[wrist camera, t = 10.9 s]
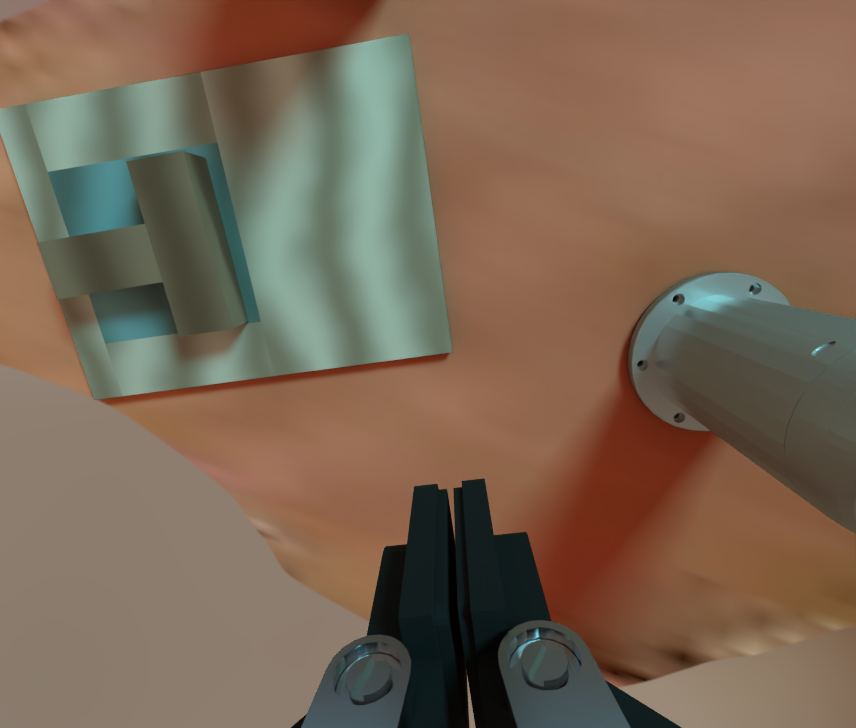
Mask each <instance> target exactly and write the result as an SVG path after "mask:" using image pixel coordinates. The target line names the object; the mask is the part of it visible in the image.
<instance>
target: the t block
mask: <svg viewBox="0 0 856 728" xmlns="http://www.w3.org/2000/svg"><path fill="white" fill-rule="evenodd" d="M126 163H127V166H128V170H129V173H130V176H131V180H132V183H133V186H134V189H135V193H136V196H137V199H138V203H139V206H140V209H141V212H142V216H143V219H144V222H145V224H140V225H135V226H129V227H123V228H118V229H112V230H106V231H100V232H95V233H89V234H83V235H78V236H72V237H66V238H61V239H55V240H49V241H44V242H38V243H37V244H38V247H39V250H40V253H41V255H42V258H43V261H44V264H45V266H46V269H47V272H48V274H49V277H50V280H51V283H52V285H53V288H54V291H55V294H56V296H57V299H63V298H69V297H75V296H82V295H88V294H94V293H100V292H106V291H112V290H118V289H124V288H130V287H136V286H142V285H148V284H154V283H160V282H163V285H164V288H165V291H166V295H167V298H168V301H169V304H170V308H171V311H172V314H173V318H174V321H175V324H176V327H177V331H178V334H179V337H182V336H189V335H195V334H201V333H208V332H214V331H221V330H227V329H232V328H235V327H237V326H239V325H242V324H244V323H246V322H249V321H248V317H247V313H246V309H245V305H244V302H243V298H242V294H241V290H240V286H239V283H238V279H237V275H236V271H235V267H234V263H233V260H232V256H231V252H230V248H229V244H228V241H227V237H226V233H225V229H224V225H223V222H222V218H221V214H220V210H219V206H218V203H217V199H216V195H215V191H214V187H213V183H212V180H211V176H210V172H209V168H208V164H207V161H206V158H204V157H201V156H198V155H195V154H192V153H189V152H186V151H179V152H174V153H168V154H163V155H158V156H152V157H147V158H142V159H136V160H131V161H126Z"/></svg>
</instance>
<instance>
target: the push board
mask: <svg viewBox="0 0 856 728" xmlns="http://www.w3.org/2000/svg"><path fill="white" fill-rule="evenodd" d="M0 134H1V137H2V140H3V142H4V145H5V148H6V151H7V154H8V157H9V159H10V162H11V165H12V168H13V171H14V174H15V176H16V179H17V182H18V185H19V188H20V191H21V193H22V196H23V199H24V202H25V205H26V208H27V210H28V213H29V216H30V219H31V222H32V225H33V227H34V230H35V233H36V236H37V239H38V242H44V241H49V240H55V239H61V238H66V237H72V236H78V235H83V234H89V233H95V232H100V231H106V230H112V229H118V228H123V227H129V226H135V225H140V224H145V222H144V219H143V216H142V212H141V209H140V206H139V203H138V199H137V196H136V193H135V189H134V186H133V183H132V180H131V176H130V173H129V170H128V166H127V163H126V161H131V160H136V159H142V158H147V157H152V156H158V155H163V154H168V153H174V152H179V151H186V152H189V153H192V154H195V155H198V156H201V157H204V158H206V161H207V164H208V168H209V172H210V176H211V180H212V183H213V187H214V191H215V195H216V199H217V203H218V206H219V210H220V214H221V218H222V222H223V225H224V229H225V233H226V237H227V241H228V244H229V248H230V252H231V256H232V260H233V263H234V267H235V271H236V275H237V279H238V283H239V286H240V290H241V294H242V298H243V302H244V305H245V309H246V313H247V317H248V321H249V322H246V323H244V324H242V325H239V326H237V327H235V328H232V329H227V330H221V331H214V332H208V333H201V334H195V335H189V336H182V337H179V334H178V331H177V327H176V324H175V321H174V318H173V314H172V311H171V308H170V304H169V301H168V298H167V295H166V291H165V288H164V285H163V282H160V283H154V284H148V285H142V286H136V287H130V288H124V289H118V290H112V291H106V292H100V293H94V294H88V295H82V296H75V297H69V298H63V299H59V301H60V304H61V307H62V310H63V313H64V315H65V318H66V321H67V324H68V327H69V330H70V332H71V335H72V338H73V341H74V344H75V347H76V349H77V352H78V355H79V358H80V361H81V364H82V366H83V369H84V372H85V375H86V378H87V381H88V383H89V386H90V389H91V392H92V395H93V398H94V400H98V399H106V398H113V397H121V396H128V395H136V394H143V393H151V392H158V391H166V390H173V389H181V388H188V387H196V386H203V385H211V384H218V383H226V382H233V381H241V380H248V379H256V378H263V377H271V376H278V375H286V374H293V373H301V372H308V371H316V370H323V369H331V368H338V367H346V366H353V365H361V364H368V363H376V362H383V361H391V360H398V359H406V358H413V357H421V356H428V355H436V354H443V353H451V352H452V346H451V338H450V331H449V324H448V316H447V309H446V302H445V294H444V287H443V280H442V272H441V265H440V258H439V250H438V243H437V236H436V228H435V221H434V214H433V206H432V199H431V192H430V184H429V177H428V170H427V162H426V155H425V148H424V140H423V133H422V126H421V118H420V111H419V104H418V97H417V89H416V82H415V75H414V67H413V60H412V53H411V45H410V38H409V34H404V35H399V36H394V37H388V38H383V39H377V40H372V41H366V42H361V43H355V44H350V45H345V46H339V47H334V48H328V49H323V50H317V51H312V52H307V53H301V54H296V55H290V56H285V57H279V58H274V59H268V60H263V61H258V62H252V63H247V64H241V65H236V66H230V67H225V68H220V69H214V70H209V71H203V72H198V73H192V74H187V75H181V76H176V77H171V78H165V79H160V80H154V81H149V82H143V83H138V84H133V85H127V86H122V87H116V88H111V89H105V90H100V91H94V92H89V93H84V94H78V95H73V96H67V97H62V98H56V99H51V100H45V101H40V102H35V103H29V104H24V105H18V106H13V107H7V108H2V109H0Z"/></svg>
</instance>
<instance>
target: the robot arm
mask: <svg viewBox="0 0 856 728" xmlns="http://www.w3.org/2000/svg"><path fill="white" fill-rule="evenodd" d="M750 287H751V288H750ZM749 288H750V290H749ZM674 296H676V299H675V300H674V301H673V297H674ZM639 361H641V363H640V365H637V363H638V362H639ZM628 370H629V375H630V380H631V383H632V385H633V388H634V390H635V392H636V394H637V396H638V397H639V398H640V400H641V401H642V403H643V404H644V405H645V406H646V407H647V408H648V409H649V410H650V411H651V412H652V413H654V414H655V415H656V416H658V417H659V418H660V419H662V420H663V421H665V422H667V423H669V424H671V425H673V426H675V427H679V428H683V429H687V430H691V431H712V432H713V433H714V434H716V435H717V436H718V437H720V438H721V439H722V440H724V441H725V442H727V443H728V444H729V445H731V446H732V447H733V448H735V449H736V450H737V451H739V452H740V453H742V454H743V455H744V456H746V457H747V458H748V459H750V460H751V461H752V462H754V463H755V464H757V465H758V466H759V467H761V468H762V469H763V470H765V471H766V472H767V473H769V474H770V475H772V476H773V477H774V478H776V479H777V480H778V481H780V482H781V483H782V484H784V485H785V486H787V487H788V488H789V489H791V490H792V491H793V492H795V493H796V494H797V495H799V496H800V497H802V498H803V499H804V500H806V501H807V502H808V503H810V504H811V505H812V506H814V507H815V508H817V509H818V510H819V511H821V512H822V513H823V514H825V515H826V516H828V517H829V518H830V519H832V520H833V521H835V522H837V523H838V524H840V525H841V526H843V527H845V528H846V529H848V530H850V531H852V532H854V533H856V319H852V318H847V317H842V316H837V315H832V314H827V313H822V312H817V311H812V310H807V309H802V308H798V307H793V306H791V305H790V303H789V301H788V300H787V298H786V297H785V296H784V295H783V294H782V293H781V292H780V291H779V290H778V289H777V288H775V287H774V286H772V285H770V284H769V283H767V282H766V281H764V280H762V279H759V278H756V277H753V276H751V275H746V274H740V273H733V272H714V273H707V274H701V275H698V276H695V277H692V278H689V279H686V280H684V281H682V282H680V283H678V284H676V285H675V286H673V287H671V288H670V289H668V290H667V291H666V292H664V293H663V294H662V295H660V296H659V297H658V298H657V299H656V300H655V301H654V302H653V303H652V304H651V305H650V306H649V308H648V309H647V310H646V311H645V313H644V314H643V316H642V317H641V319H640V320H639V322H638V323H637V326H636V328H635V331H634V333H633V335H632V338H631V342H630V347H629V351H628ZM454 514H455V539H454V532H453V525H452V519H451V512H450V506H449V499H448V493H447V489H442V490H439V489H438V485H437V484H432V485H423V486H415V487H414V492H413V501H412V509H411V517H410V525H409V533H408V541H407V544H405V545H395V546H386V547H385V548H384V551H383V555H382V561H381V566H380V571H379V576H378V581H377V586H376V591H375V596H374V601H373V606H372V612H371V617H370V622H369V627H368V633H367V636H365V637H362V638H360V639H357V640H354V641H353V642H351V643H350V644H348V645H346V646H345V647H343V648H342V649H341V650H340V651H339V652H338V653H337V654H336V655H335V656H334V657H333V659H332V661H331V662H330V664H329V665H328V667H327V669H326V671H325V673H324V676H323V678H322V680H321V683H320V685H319V688H318V690H317V692H316V694H315V696H314V699H313V701H312V704H311V706H310V708H309V711H308V713H307V714H306V715H305V716H304V717H303V718H302V719H300V720H299V721H298V722H297V723H296V724H295V725H294V726H292V727H291V728H469V714H468V695H467V694H468V692H467V675H468V681H469V687H470V694H471V701H472V707H473V713H474V720H475V726H476V728H681V727H680V726H678V725H676V724H675V723H673V722H671V721H670V720H668V719H667V718H665V717H664V716H662V715H660V714H659V713H657V712H655V711H654V710H652V709H651V708H649V707H647V706H646V705H644V704H642V703H641V702H639V701H638V700H636V699H635V698H633V697H631V696H630V695H628V694H627V693H625V692H623V691H622V690H620V689H619V688H617V687H615V686H614V685H612V684H611V683H609V682H607V681H606V680H605V679H604V677H603V675H602V673H601V671H600V670H599V668H598V666H597V664H596V662H595V660H594V658H593V656H592V655H591V653H590V651H589V649H588V647H587V646H586V644H585V643H584V642H583V640H582V639H581V638H580V636H579V635H577V634H576V633H575V632H573V631H572V630H571V629H569V628H568V627H566V626H563V625H561V624H559V623H556V622H551V618H550V615H549V611H548V607H547V604H546V600H545V597H544V593H543V589H542V586H541V582H540V578H539V575H538V571H537V567H536V564H535V560H534V557H533V553H532V549H531V546H530V542H529V538H528V535H527V533H526V532H521V533H511V534H502V535H494V534H493V528H492V522H491V516H490V510H489V503H488V497H487V491H486V485H485V479H476V480H467V481H462V487H460V488H454ZM455 544H456V545H455ZM466 669H467V672H466Z"/></svg>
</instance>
